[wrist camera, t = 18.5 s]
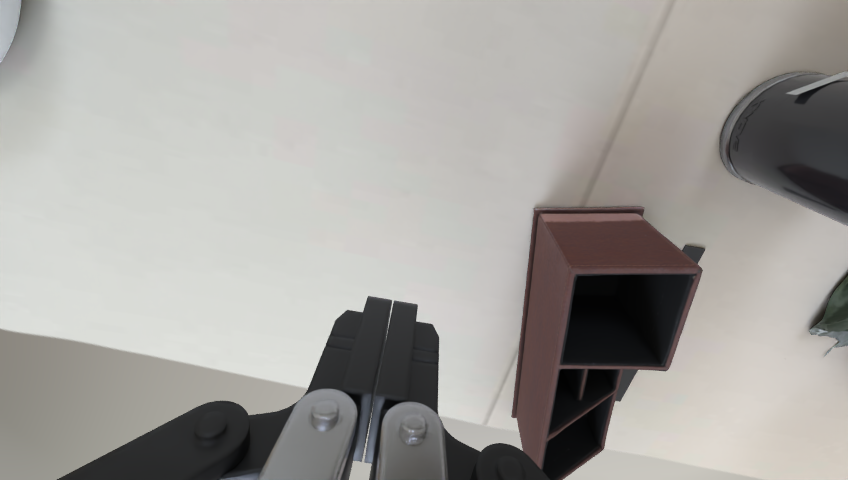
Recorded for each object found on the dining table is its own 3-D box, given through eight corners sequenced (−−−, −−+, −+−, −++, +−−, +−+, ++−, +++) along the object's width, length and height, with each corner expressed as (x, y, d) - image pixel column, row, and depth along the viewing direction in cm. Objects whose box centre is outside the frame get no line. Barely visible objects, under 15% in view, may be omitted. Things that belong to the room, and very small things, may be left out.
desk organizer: (642, 205, 38) (714, 263, 28) (592, 416, 51) (628, 508, 41) (532, 206, 38) (563, 263, 28) (510, 414, 51) (526, 504, 41)
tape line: (704, 248, 40) (705, 249, 39) (619, 400, 49) (620, 401, 49) (685, 245, 40) (686, 246, 39) (604, 397, 49) (604, 399, 49)
